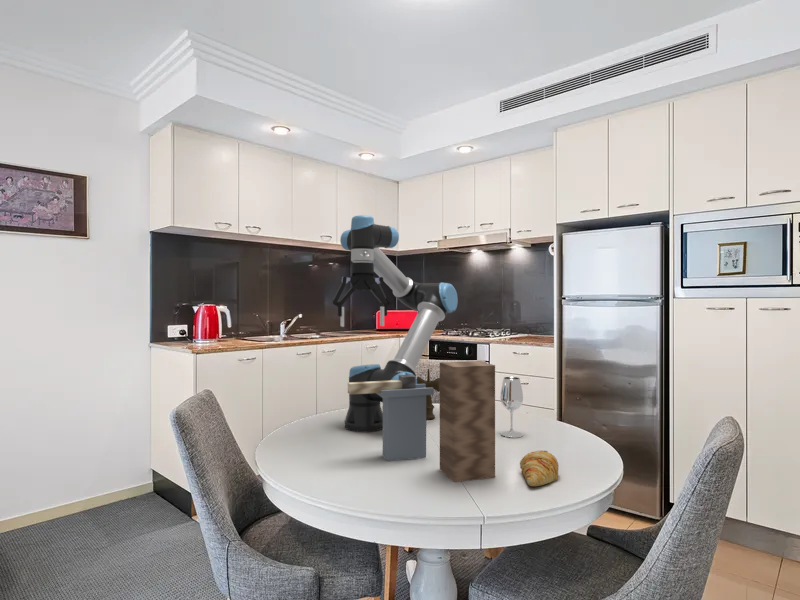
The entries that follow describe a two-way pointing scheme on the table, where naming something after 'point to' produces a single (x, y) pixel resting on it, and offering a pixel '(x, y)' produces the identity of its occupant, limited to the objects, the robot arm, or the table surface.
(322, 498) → the table surface
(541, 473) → the croissant
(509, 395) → the wineglass
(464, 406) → the walnut stand
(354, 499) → the table surface
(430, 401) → the kendama
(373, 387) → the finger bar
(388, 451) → the rail stand
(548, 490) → the table surface
